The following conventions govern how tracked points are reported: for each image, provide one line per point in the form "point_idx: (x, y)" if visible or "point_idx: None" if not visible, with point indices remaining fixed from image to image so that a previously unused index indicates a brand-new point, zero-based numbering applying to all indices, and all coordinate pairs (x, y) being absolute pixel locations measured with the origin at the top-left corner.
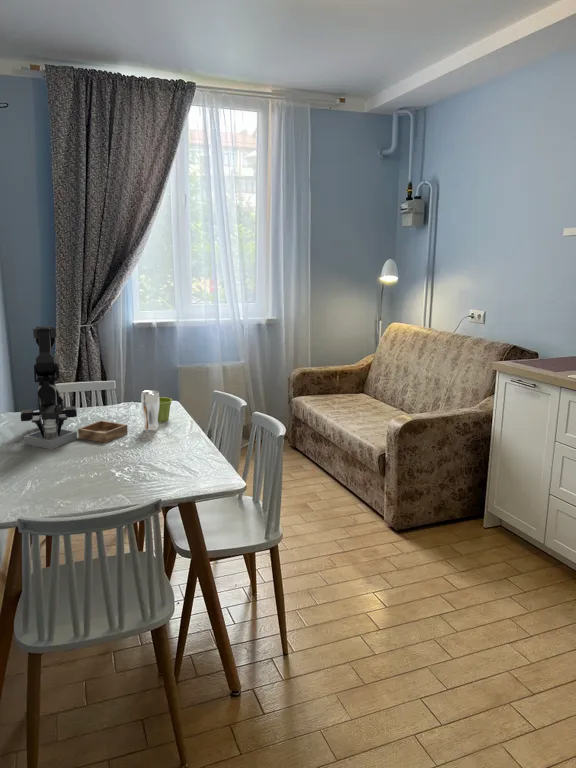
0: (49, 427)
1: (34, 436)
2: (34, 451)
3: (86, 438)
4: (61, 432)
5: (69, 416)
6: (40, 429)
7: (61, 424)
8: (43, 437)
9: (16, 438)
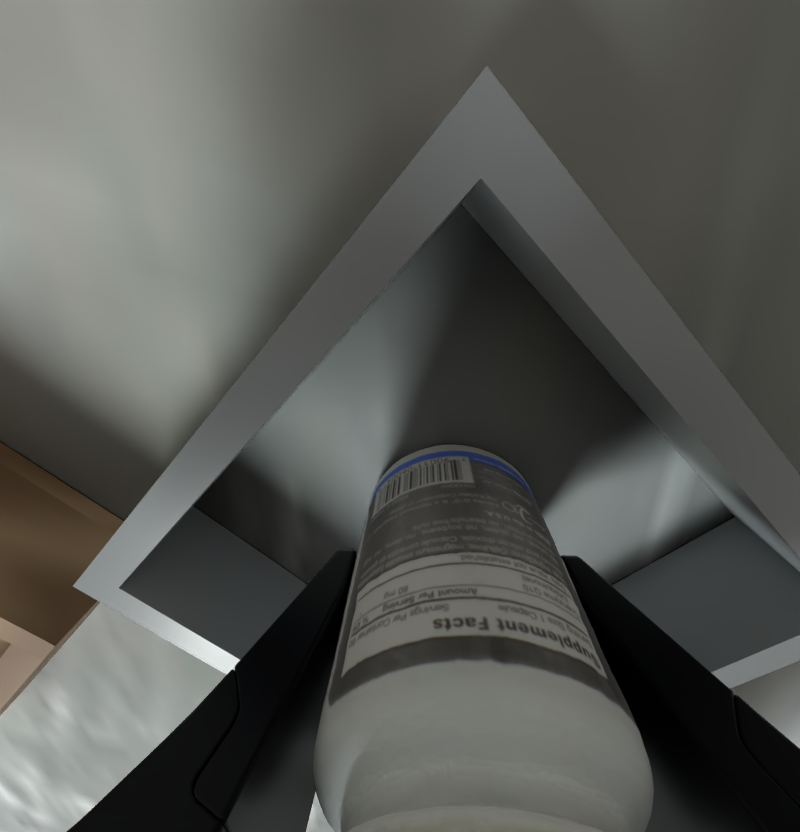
0: (504, 688)
1: (672, 627)
2: (773, 77)
3: (31, 474)
4: None
5: None
6: (704, 690)
7: (164, 760)
8: None
9: (790, 693)
